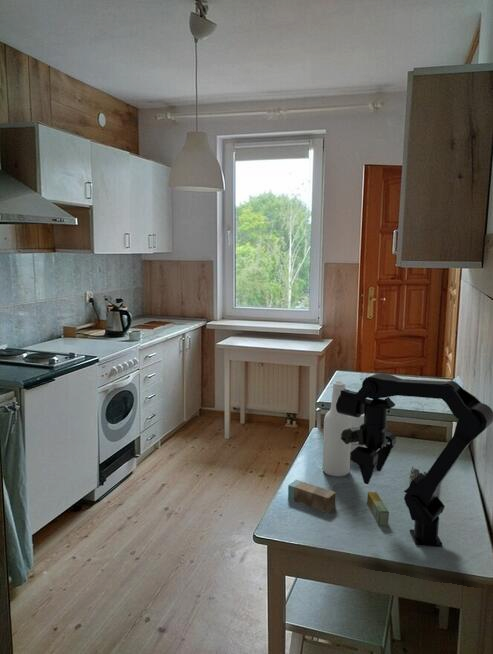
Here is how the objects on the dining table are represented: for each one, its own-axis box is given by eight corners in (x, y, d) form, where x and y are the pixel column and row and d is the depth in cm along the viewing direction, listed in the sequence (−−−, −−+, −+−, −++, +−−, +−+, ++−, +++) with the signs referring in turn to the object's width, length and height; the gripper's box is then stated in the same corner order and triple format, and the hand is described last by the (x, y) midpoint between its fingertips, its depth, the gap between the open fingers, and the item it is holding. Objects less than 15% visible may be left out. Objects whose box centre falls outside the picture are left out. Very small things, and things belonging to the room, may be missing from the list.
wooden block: (335, 492, 144) (296, 479, 151) (328, 498, 140) (288, 485, 148) (335, 506, 144) (295, 493, 152) (328, 513, 141) (288, 499, 148)
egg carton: (410, 477, 164) (411, 465, 163) (435, 481, 161) (436, 469, 160) (407, 491, 154) (408, 478, 153) (433, 496, 151) (434, 483, 150)
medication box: (388, 526, 135) (389, 512, 134) (378, 526, 135) (379, 512, 134) (375, 504, 147) (376, 490, 146) (366, 503, 146) (367, 490, 146)
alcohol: (334, 463, 173) (337, 377, 168) (355, 472, 167) (358, 383, 162) (316, 470, 167) (319, 382, 163) (338, 480, 161) (341, 388, 156)
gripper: (359, 406, 146) (357, 458, 148) (331, 425, 131) (330, 482, 133) (397, 413, 140) (395, 467, 142) (373, 434, 124) (371, 494, 127)
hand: (372, 477), depth 136 cm, fingers open, 9 cm apart
